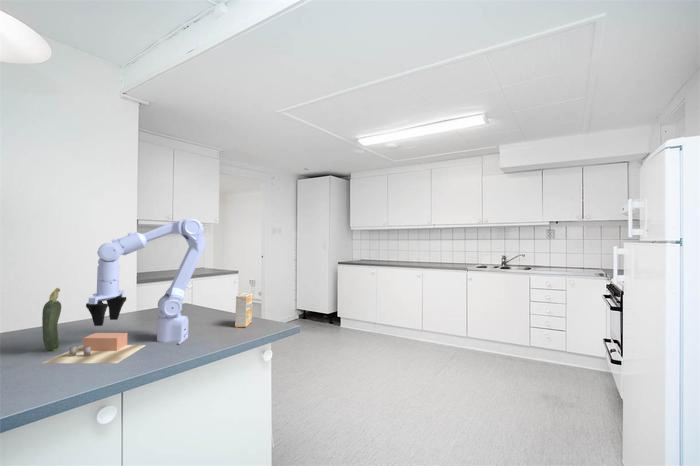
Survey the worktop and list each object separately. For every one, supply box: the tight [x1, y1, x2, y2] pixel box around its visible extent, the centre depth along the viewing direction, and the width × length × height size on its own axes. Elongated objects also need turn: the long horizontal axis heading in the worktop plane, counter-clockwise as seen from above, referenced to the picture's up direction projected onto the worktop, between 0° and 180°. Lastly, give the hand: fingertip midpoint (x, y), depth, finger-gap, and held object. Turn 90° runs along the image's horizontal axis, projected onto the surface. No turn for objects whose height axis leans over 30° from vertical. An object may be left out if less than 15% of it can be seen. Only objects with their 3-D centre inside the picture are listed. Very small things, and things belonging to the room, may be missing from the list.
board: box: [42, 344, 147, 364], centre depth 102 cm, size 20×16×3 cm
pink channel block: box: [82, 332, 128, 351], centre depth 107 cm, size 10×6×4 cm, turn 95°
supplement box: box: [234, 292, 254, 328], centre depth 142 cm, size 8×5×13 cm, turn 179°
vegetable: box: [41, 287, 62, 352], centre depth 104 cm, size 4×4×20 cm
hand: (106, 322), depth 107 cm, fingers open, 7 cm apart
